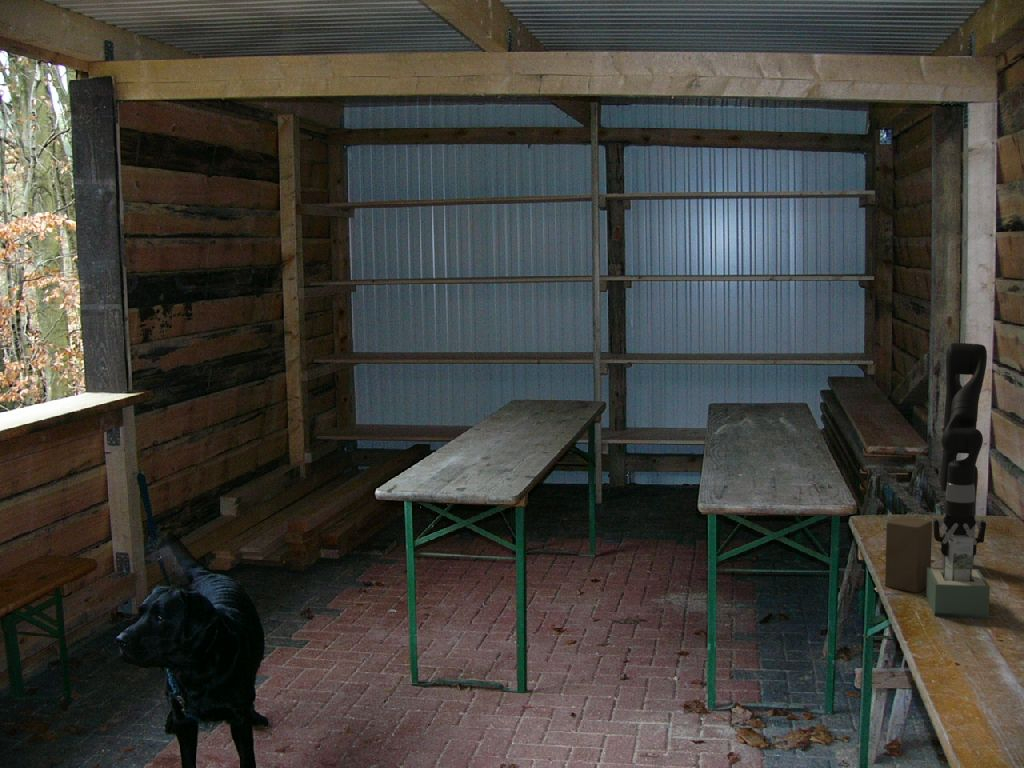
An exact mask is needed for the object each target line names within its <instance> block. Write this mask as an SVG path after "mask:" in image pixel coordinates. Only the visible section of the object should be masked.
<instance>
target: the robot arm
mask: <svg viewBox="0 0 1024 768" xmlns="http://www.w3.org/2000/svg"><path fill="white" fill-rule="evenodd" d="M945 356H946V357H945V378H946V380H945V381H946V382H945V383H946V385H945V386H946V387H945V389H946V390H945V391H946V392H945V393H946V394H945V401H944V402H945V403H944V404H945V405H944V416H943V433H942V436H941V441H940V442H941V446H942V449H943V450H942V456H941V457H942V458H941V465H940V473H939V474H940V475H939V484H940V488H941V490H942V491H943V492H945V504H944V508H943V519H938V518H934V519H932V527H933V537H934V539H935V541H936V542H939V543H940V552H941V554H942V568H944V556H945V557H947V547H948V544H947V541H948V540H949V538H950V537H951V536H952V534H962V535H966V534H967V535H968V536H969V537H972V538H973V539H974V540H973V560H972V569H975V568H974V566H975V556H977V546H978V544H980V543H981V544H982V543H984V541H985V535H986V528H987V523H986V521H985V520H984V519H981V520H976V519H977V518H976V517H977V516H976V513H977V512H976V511H977V507H976V505H977V491H978V484H979V483H978V482H979V471H978V467H977V466H976V465H977V464H976V463H977V462H978V461H977V460H978V457H979V454H980V452H981V449H982V446H983V442H984V436H983V434H982V432H981V431H980V430H979V429H977V425H978V424H977V423H978V414H979V413H978V411H979V403H980V397H981V393H982V388H983V384H984V379H985V375H986V369H987V362H988V361H987V360H988V352H987V348H986V346H985V345H983V344H980V343H967V342H966V343H963V342H952V343H950V344H949V345H948V347H947V349H946V355H945ZM959 375H964V376H965V375H966V376H971V378H970V379H969V380H968V382H966V383H965V384H964V385H963V386H962V384H961V382H960V379H959ZM959 454H968V455H967V456H966V458H962V459H958V460H955V459H956V457H957V456H958V455H959ZM941 527H943V535H942V536H941V532H940V528H941ZM976 527H977V528H978V533H977V537H976Z"/></svg>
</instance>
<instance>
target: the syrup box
mask: <svg viewBox="0 0 1024 768" xmlns="http://www.w3.org/2000/svg"><path fill="white" fill-rule="evenodd" d="M973 540H974V539H973V538H972V537H969V536H968V535H967V534H966V535H962V534H952V536H951V537H950V538H949V540H948V541H947V544H948V547H947V557H945V556H944V567H943V568H944V580H945V581H965V582H971V579H972V560H973Z"/></svg>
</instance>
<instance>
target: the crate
mask: <svg viewBox="0 0 1024 768" xmlns="http://www.w3.org/2000/svg"><path fill="white" fill-rule="evenodd" d="M925 589H926V591H925V599H926V600H927V602H928V604H929V606H930V608H931V611H932V613H933V615H934V616H935V617H946V618H948V617H951V618H968V619H970V618H972V619H989V617H990V594H991V593H990V592H991V587H990V585H989V584H988V582H987V580H986V579H985V577H984V576H983V574H982V573H981V572H980V570H979V569H978V568H973V569H972V579H971V582H965V581H945V580H944V567H932V566H931V567H927V585H926V587H925Z"/></svg>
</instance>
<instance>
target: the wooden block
mask: <svg viewBox="0 0 1024 768" xmlns="http://www.w3.org/2000/svg"><path fill="white" fill-rule="evenodd" d="M885 535H886V536H885V574H884V577H885V579H884V581H885V582H884V583H885V584H884V585H885V587H886V588H887V587H888V588H891V589H892V588H893V589H898V590H901V591H905V592H906V591H907V592H911V593H918V592H920V591H922V590H924V589H926V585H927V567H932V539H933V538H932V535H933V520H929V519H924V518H917V517H913V516H911V517H910V516H906V515H905V516H904V515H899V516H897V517H894V518H893V519H891V520H889V521H887V522H886V533H885Z"/></svg>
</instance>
